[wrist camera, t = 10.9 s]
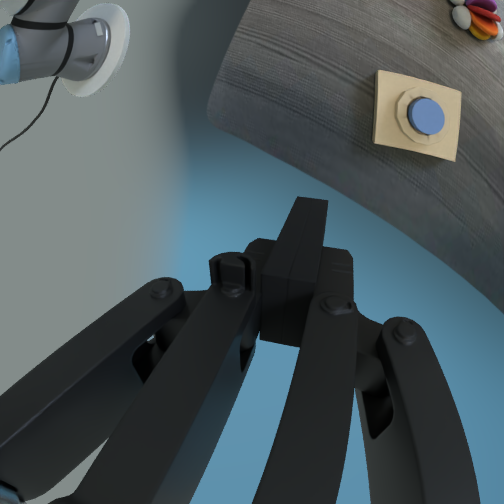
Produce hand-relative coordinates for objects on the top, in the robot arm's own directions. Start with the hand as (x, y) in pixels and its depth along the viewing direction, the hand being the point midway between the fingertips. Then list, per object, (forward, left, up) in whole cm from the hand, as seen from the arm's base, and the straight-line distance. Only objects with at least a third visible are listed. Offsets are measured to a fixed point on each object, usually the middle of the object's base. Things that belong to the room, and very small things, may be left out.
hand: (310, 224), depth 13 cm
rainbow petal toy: (+22, +27, -27) cm, 44 cm away
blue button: (+12, +7, -22) cm, 26 cm away
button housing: (+12, +7, -26) cm, 30 cm away
